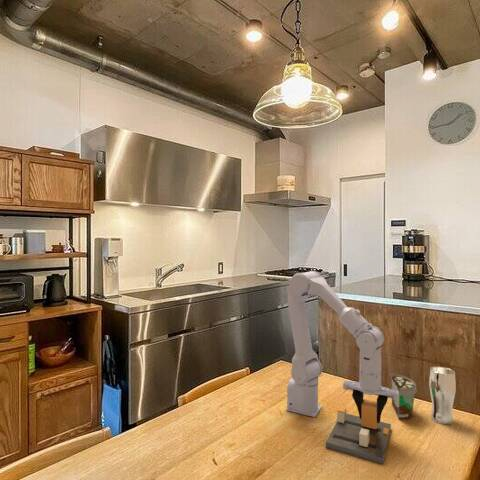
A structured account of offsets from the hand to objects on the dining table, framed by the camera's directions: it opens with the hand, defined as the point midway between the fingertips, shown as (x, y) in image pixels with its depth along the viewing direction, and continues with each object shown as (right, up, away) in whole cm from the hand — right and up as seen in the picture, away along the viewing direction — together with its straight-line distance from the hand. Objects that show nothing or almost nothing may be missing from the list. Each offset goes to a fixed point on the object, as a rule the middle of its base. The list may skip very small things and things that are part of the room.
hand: (369, 419), depth 100 cm
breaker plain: (-4, -2, -8) cm, 9 cm away
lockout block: (0, -2, 0) cm, 2 cm away
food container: (+15, -4, +11) cm, 20 cm away
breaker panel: (-4, -4, -3) cm, 6 cm away
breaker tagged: (-7, -2, +4) cm, 8 cm away
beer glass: (+25, -4, +8) cm, 26 cm away
